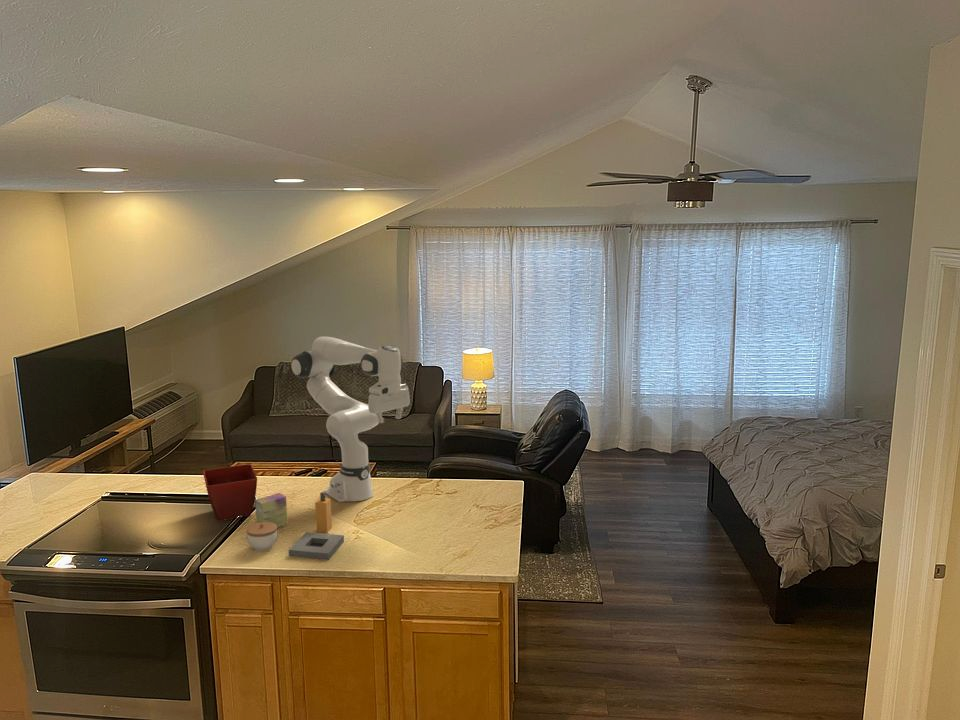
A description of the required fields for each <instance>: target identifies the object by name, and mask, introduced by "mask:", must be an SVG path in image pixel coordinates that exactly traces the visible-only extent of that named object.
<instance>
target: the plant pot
mask: <svg viewBox="0 0 960 720" xmlns="http://www.w3.org/2000/svg"><path fill="white" fill-rule="evenodd" d="M255 472H256V471H254V468H253V465H252V464H250V463H247V464H241V465H240V464H239V465H233V466H225V467H224V466H223V467H218V468H211V469H204V470H203V471H202V473H203V479H204V483H205V488H206V492H207V496H208V499H209V503H210V506H211V508H212V512H213V513H214V516H215V519H216V520H224V519H230V520H232V519H231V518H235V517H237V516H240V515H242V516H244V517H243V518H248V517H250V516H251V515H252V513H253V512H252V511H253V509H254V505H255V500H256V495H257V486H258V484H257V483H258V477H257V475H256V473H255ZM224 521H225V520H224Z"/></svg>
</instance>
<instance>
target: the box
mask: <svg viewBox="0 0 960 720" xmlns="http://www.w3.org/2000/svg"><path fill="white" fill-rule="evenodd" d="M254 505H255V517H256V519H255V520H256V523H259V522H272V523H275V524H276V525H277V529H278V528H281V527H284V526H288V511H287V510H288V508H287V496H286V495H284V494H282V493H279V492H278V493H274V494H270V495H267V496H264V497H261V498H255V501H254Z"/></svg>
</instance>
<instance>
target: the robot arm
mask: <svg viewBox="0 0 960 720" xmlns="http://www.w3.org/2000/svg"><path fill="white" fill-rule="evenodd" d="M400 352H401V351H400V349H399V347H397V346H394V345H389V344H387V345H386V344H385V345H381V346H380V347H379V348H372V347H367V346H362V345H359V344H356V343H353V342H349V341H346V340H343V339H340V338H337V337H333V336H319V337H316V338H315V340H313V343H312V344H311V350H309V351H307V350H304V351H303V352H300V353H297V355H295V356H294V357H293V358H292V360H291V362H290V368H291V372H292V374H293V375H294V376H295V377H296V378H299V379H305V378H309V379H308V380H307V382H306V389H307V391H308V393H309V395H310V396H311V397H312V398H313V400H314V401H315V402H316V403H317V404H318V405H319V406H320V407H321V408H322V410H324V411H325V412H326V413H327V414H328V415H329V416H328V417H327V419H326V424H325V425H326V430H327V433H328V434H329V435H330V436H331V437H332V438H334V439H335V440H336V441H337V442H338V443H339V444H338V445H339V447H340V450H341V463H340V464H338V466H337V467H338V468H340V469H339V471H338V472H337V473H336V474H335V475H333V476H332V477H331V478H330V480H329V486H328V487H326V488H325V489H324V490H323V492H325V495H327V496H329V497H331V498H333V499H334V500H336V501H337V502H340V503H345V502H360V501H365V500H369V499H370V498H372V497H373V496H374V493H373V491H374V487H373V486H372V478H371V473H370V468H371V467H370V462H369V447H368V445H367V444H365V442H363V441H362V440H360V439H359V433H362V432H366V431H367V432H368V431H369V430H371V429H373V428H375V427H376V426H378V425H379V424H383V423H385V418H384V417H383V416H382V415H383V413H384V412H389V411H392V410H397V412H396V414H395V416H394V417H395V419H396V420H400V419H401V418H402V413H403V411H404V408H407V407H409V406H410V404H411V395H410V391H409V386H408V384H406V383H402V378H401V369H402V367H403V361H404V360H403V357H402V355H401V353H400ZM358 363H360V368H361V371H362V373H363V374H364V375H366V376H367V377H375V376H377V377H378V381H377V382H376V383H374V384H373V385H371V386H370V387H368V388H369V389H368V393H369V395H368V399H367V400H368V403H365V402H361V401H359V400H356V399H355V398H352V397H350V396H349V395H348V394H346V393H345V392H344V391H343V390H341V388H339V387H338V386H337V384H335V383H334V382H333V381H332V380H331V377H333V376H334V375H335V374H336V371H337V369H338V366H347V365H353V364H358Z"/></svg>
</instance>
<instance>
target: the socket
mask: <svg viewBox="0 0 960 720" xmlns="http://www.w3.org/2000/svg"><path fill="white" fill-rule="evenodd" d="M344 543H345V534H344V535H343V534H335V533H334V534H331V533H324V532H312V531H311V532H310V531H305V532H304V533H303V534H302V536H301V537H300V538H299V539H297V540H296V542H294V544H293V545H292V546H290V548H288V557H290V558H291V557H292V558H293V557H294V558H303V559H313V560H323V561H324V560H325V561H329V560H330V559H331V558H332V556H334V554H335V553H337V551H338V549H339V548H340V547H342V545H343V544H344Z"/></svg>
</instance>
